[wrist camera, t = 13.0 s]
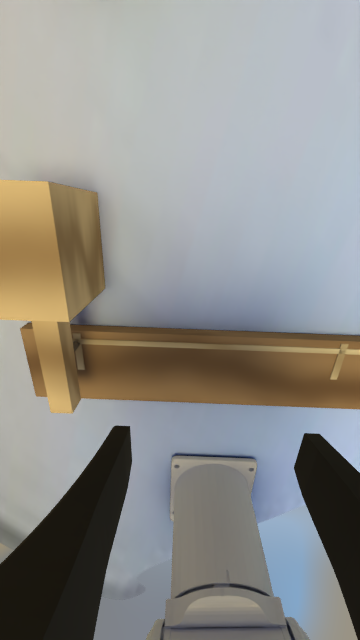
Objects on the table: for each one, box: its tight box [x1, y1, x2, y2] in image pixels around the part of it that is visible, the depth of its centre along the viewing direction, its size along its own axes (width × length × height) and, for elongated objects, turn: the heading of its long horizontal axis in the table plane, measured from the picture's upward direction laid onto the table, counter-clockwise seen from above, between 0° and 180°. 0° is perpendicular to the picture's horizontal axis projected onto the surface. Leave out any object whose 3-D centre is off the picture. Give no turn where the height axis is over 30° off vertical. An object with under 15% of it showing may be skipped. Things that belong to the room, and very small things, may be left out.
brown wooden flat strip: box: [20, 323, 360, 409], centre depth 19 cm, size 6×28×1 cm, turn 88°
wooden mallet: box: [0, 180, 105, 413], centre depth 15 cm, size 13×4×6 cm, turn 178°
